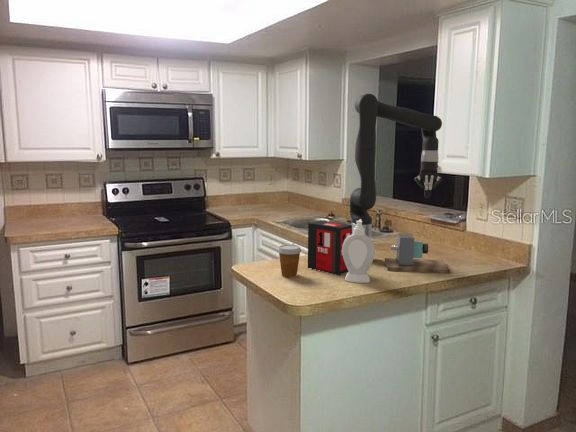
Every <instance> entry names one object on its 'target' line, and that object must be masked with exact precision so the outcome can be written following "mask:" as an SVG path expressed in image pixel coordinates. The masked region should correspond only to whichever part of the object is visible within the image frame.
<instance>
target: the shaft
mask: <svg viewBox="0 0 576 432" xmlns="http://www.w3.org/2000/svg"><path fill="white" fill-rule="evenodd" d="M398 249H399V245H397V244H396V245H395V244H390V250H393V251H397V250H398ZM428 253H429V244H428V243H424V242H423V249H422V254H426V255H427V254H428Z"/></svg>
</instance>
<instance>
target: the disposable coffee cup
mask: <svg viewBox="0 0 576 432" xmlns="http://www.w3.org/2000/svg"><path fill="white" fill-rule="evenodd" d="M277 251H278V254H279V262H280V263H279V264H280V270H281V271H280V272H281V276H282V275H283V276H282V277H284V276H286V277H285V278H294V276H295V277H297V276H296V275H298V269H299V262H300V253H301V252H302V249H301V247H300V246H299V245H297V244H282V245H279V246H278V249H277Z"/></svg>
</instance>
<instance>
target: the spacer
mask: <svg viewBox="0 0 576 432" xmlns="http://www.w3.org/2000/svg"><path fill="white" fill-rule="evenodd" d="M423 243H424V242H423V241H421V240H414V253H413V259H423V253H422V249H423Z"/></svg>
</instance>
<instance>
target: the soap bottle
mask: <svg viewBox="0 0 576 432" xmlns="http://www.w3.org/2000/svg"><path fill="white" fill-rule="evenodd" d="M356 222H357V226H355V228H353V234H352V235H349V236H348V237H347V238H346V239H345V240H344V243H343V246H342V255H343V259H344V262H345V264H346V267H347V269H348V272H347V273H345V274H346V275H345V277H344V281H346V282H350V283H354V282H355V283H356V284H369V283H370V282H371V280H370V277H369V274H368V271H369V270H370V268H371V266H372V264H373V261H374V258H375V256H376V255H375V254H376V247H375V244H374V242H373V240H372V238H371V239H370V237H368V236H366V235H365V228H363V226H362V219H360V220H359V221H356Z"/></svg>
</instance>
